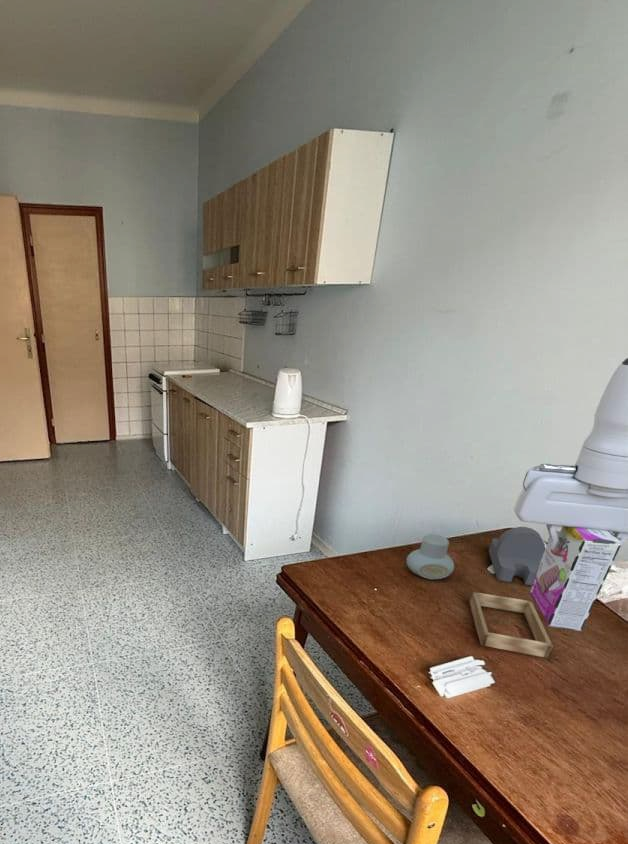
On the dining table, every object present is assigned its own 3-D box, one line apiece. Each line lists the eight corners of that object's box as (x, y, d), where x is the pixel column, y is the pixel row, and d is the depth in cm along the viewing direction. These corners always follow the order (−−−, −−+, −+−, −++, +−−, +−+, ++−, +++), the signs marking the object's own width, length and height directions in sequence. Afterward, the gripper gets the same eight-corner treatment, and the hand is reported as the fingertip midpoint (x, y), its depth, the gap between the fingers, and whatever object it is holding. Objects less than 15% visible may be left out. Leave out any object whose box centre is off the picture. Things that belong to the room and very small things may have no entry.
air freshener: (446, 567, 125) (455, 533, 120) (454, 583, 118) (465, 548, 113) (401, 563, 127) (409, 530, 122) (407, 579, 120) (416, 544, 115)
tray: (527, 612, 107) (531, 601, 105) (547, 658, 93) (553, 646, 92) (469, 602, 111) (472, 591, 109) (480, 645, 97) (484, 633, 96)
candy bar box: (526, 591, 87) (557, 509, 79) (558, 596, 85) (593, 512, 77) (546, 627, 77) (584, 538, 70) (582, 633, 76) (625, 542, 68)
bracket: (528, 554, 130) (541, 519, 125) (542, 587, 116) (558, 548, 110) (488, 548, 133) (499, 513, 128) (497, 579, 119) (510, 541, 114)
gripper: (535, 468, 70) (506, 550, 77) (714, 482, 63) (666, 571, 70) (524, 456, 75) (499, 534, 82) (690, 468, 68) (647, 552, 75)
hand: (577, 551), depth 76 cm, fingers closed on candy bar box, 5 cm apart
